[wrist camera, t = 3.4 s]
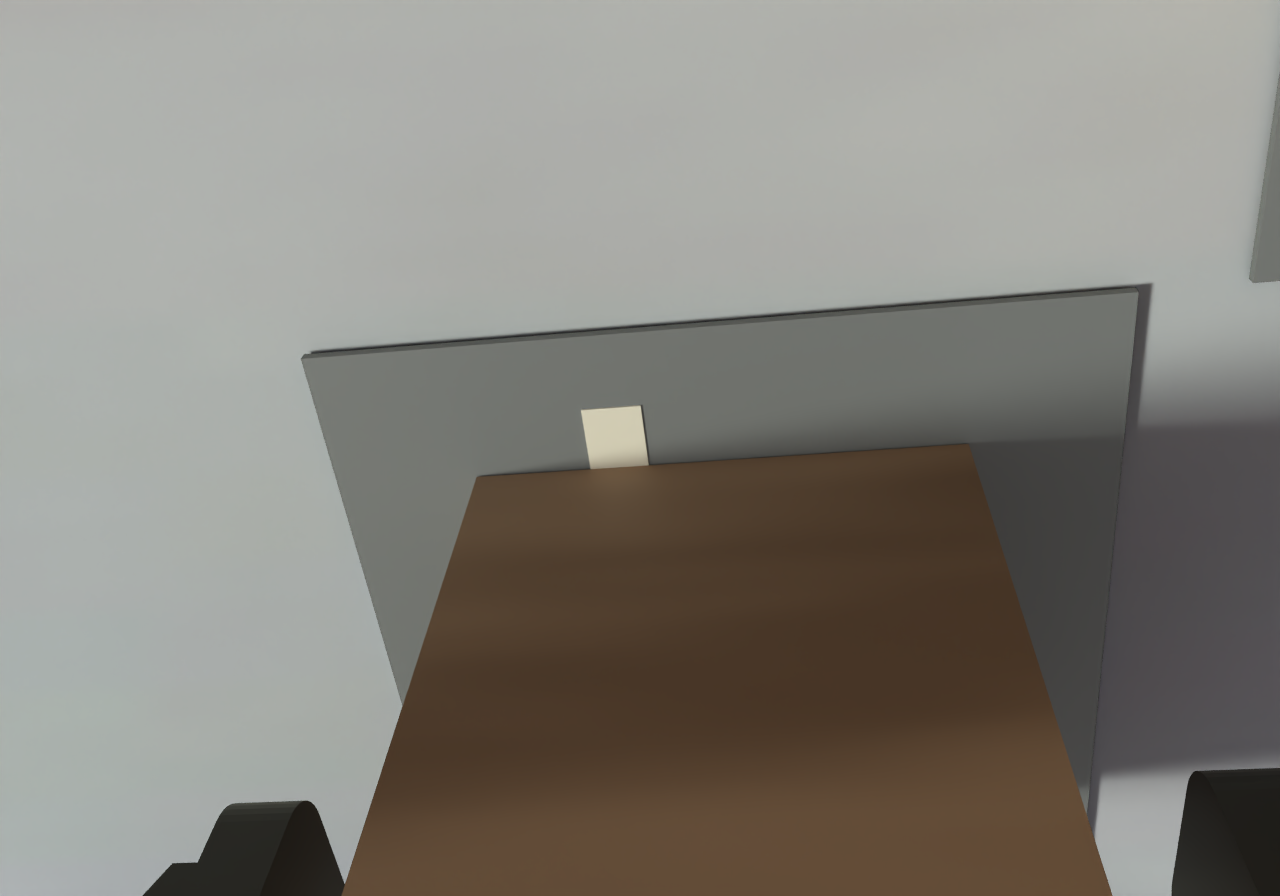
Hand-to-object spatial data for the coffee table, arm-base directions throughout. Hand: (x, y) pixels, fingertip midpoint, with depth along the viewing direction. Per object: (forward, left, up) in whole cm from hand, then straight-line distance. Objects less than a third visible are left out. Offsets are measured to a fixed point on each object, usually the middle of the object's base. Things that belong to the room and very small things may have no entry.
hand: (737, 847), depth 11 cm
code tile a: (0, 0, -3) cm, 3 cm away
